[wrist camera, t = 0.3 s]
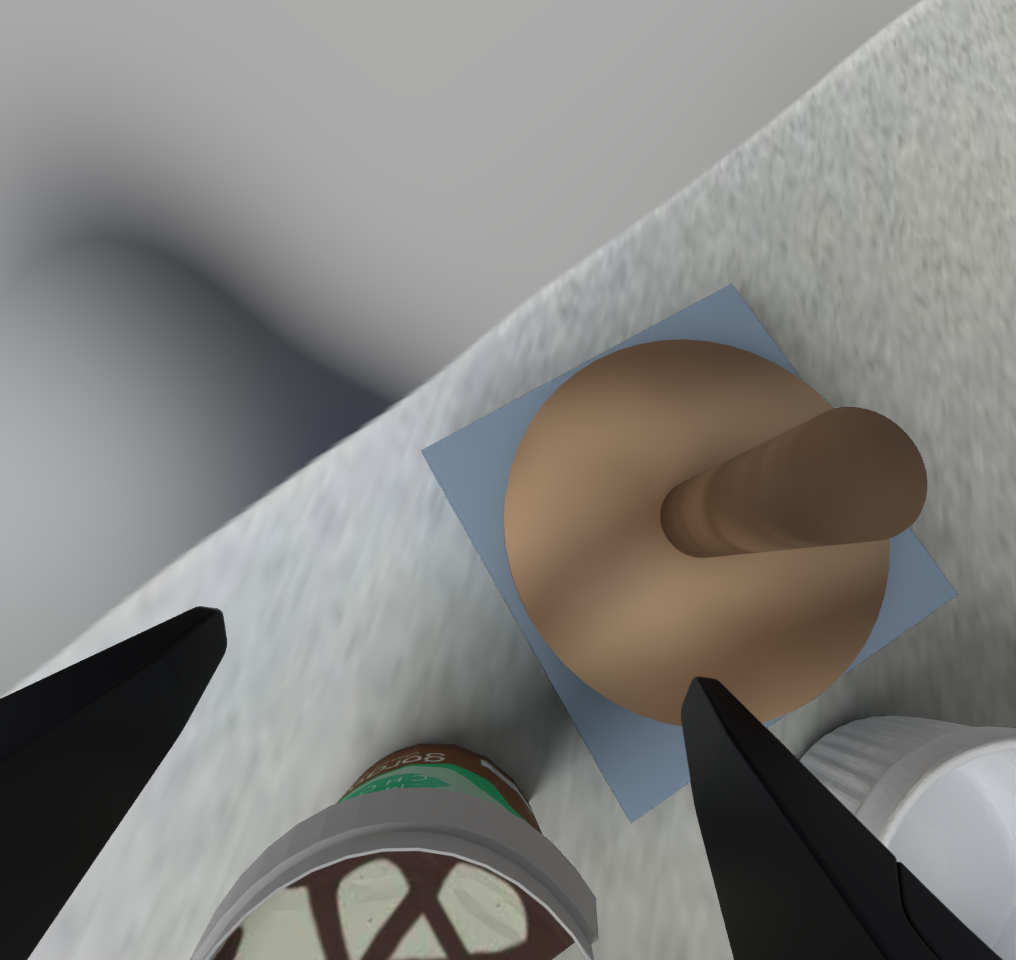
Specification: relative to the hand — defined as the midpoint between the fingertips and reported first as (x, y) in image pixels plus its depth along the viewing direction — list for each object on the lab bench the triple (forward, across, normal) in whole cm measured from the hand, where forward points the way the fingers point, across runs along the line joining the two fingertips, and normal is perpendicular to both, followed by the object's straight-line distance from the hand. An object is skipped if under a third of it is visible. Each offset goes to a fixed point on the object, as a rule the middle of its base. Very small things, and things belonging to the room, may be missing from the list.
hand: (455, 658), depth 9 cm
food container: (+7, +2, +15) cm, 17 cm away
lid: (+12, -8, +2) cm, 15 cm away
